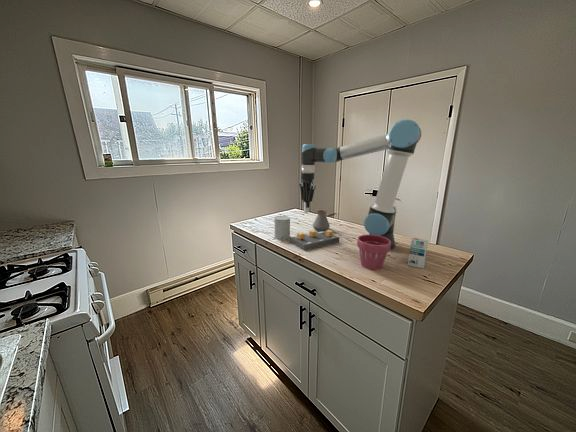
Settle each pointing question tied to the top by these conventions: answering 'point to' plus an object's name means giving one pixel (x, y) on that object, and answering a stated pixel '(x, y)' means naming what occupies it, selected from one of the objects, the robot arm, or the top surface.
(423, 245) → the light bulb box
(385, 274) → the top surface
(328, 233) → the switch
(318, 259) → the top surface
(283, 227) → the grey cylinder
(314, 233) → the switch
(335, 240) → the grey flat tray
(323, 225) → the coffee pot
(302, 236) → the switch
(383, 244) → the plant pot
